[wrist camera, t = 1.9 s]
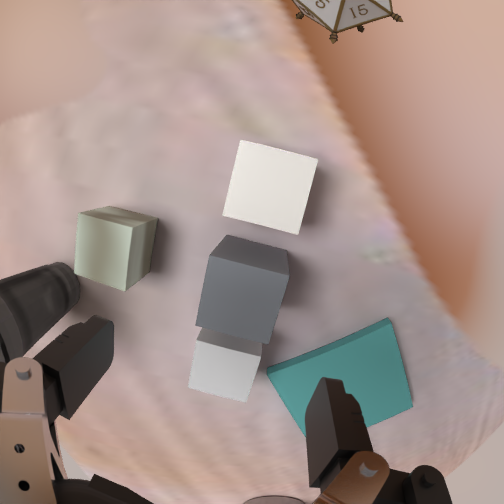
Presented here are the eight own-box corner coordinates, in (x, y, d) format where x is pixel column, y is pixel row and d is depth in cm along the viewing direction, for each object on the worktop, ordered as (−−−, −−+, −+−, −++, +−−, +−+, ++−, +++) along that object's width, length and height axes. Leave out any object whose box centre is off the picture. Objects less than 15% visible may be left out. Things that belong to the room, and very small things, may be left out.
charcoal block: (286, 249, 22) (289, 275, 16) (270, 304, 23) (268, 344, 18) (227, 234, 22) (209, 255, 17) (214, 290, 24) (195, 325, 18)
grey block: (264, 326, 24) (261, 356, 20) (250, 369, 25) (245, 402, 21) (209, 312, 24) (196, 340, 20) (200, 356, 25) (187, 387, 21)
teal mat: (409, 400, 25) (413, 406, 24) (311, 439, 27) (311, 446, 26) (387, 317, 23) (391, 323, 22) (267, 367, 25) (266, 374, 24)
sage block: (158, 217, 23) (132, 227, 18) (149, 271, 24) (125, 291, 19) (109, 205, 23) (78, 213, 18) (103, 257, 24) (74, 273, 19)
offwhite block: (309, 163, 21) (318, 159, 16) (293, 223, 22) (298, 234, 17) (248, 147, 21) (240, 139, 16) (233, 207, 22) (222, 215, 18)
